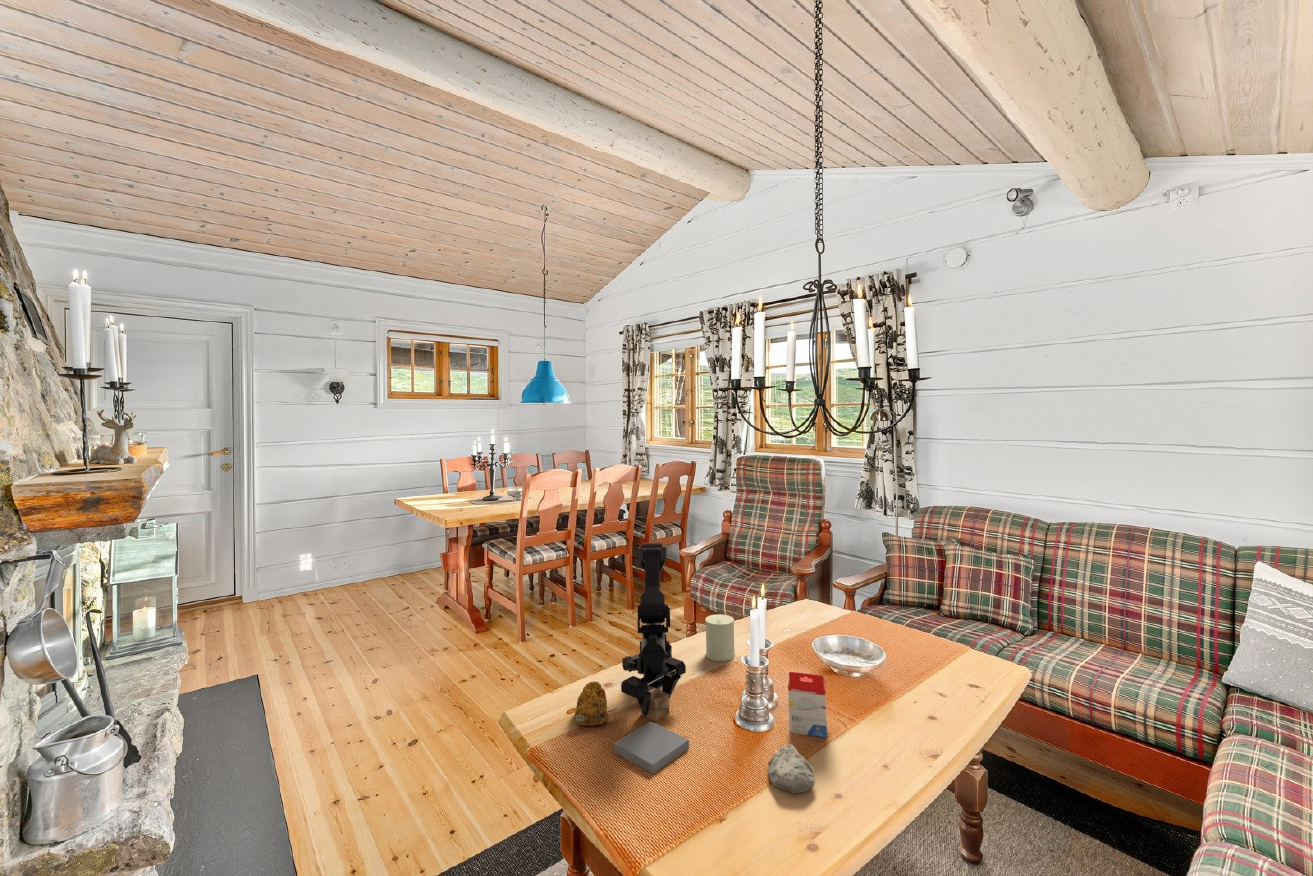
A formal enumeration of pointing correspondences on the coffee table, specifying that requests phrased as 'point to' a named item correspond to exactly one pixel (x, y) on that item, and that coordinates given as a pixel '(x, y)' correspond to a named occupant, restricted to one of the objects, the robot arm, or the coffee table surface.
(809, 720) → the ink box
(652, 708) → the walnut cube
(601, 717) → the rock
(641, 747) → the plate
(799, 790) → the decorative stone
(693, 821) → the coffee table surface
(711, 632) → the pale green cylinder
